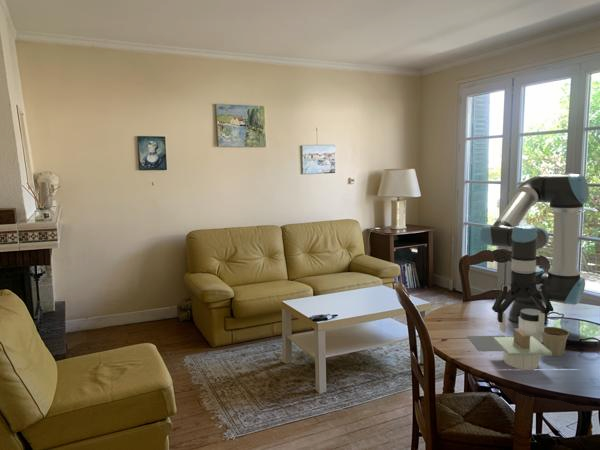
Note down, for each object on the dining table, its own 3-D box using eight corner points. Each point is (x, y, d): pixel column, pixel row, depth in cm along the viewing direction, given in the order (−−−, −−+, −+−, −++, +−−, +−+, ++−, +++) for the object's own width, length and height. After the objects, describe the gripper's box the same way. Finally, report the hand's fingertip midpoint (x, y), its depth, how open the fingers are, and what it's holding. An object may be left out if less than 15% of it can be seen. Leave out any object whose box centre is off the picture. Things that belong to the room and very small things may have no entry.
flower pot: (533, 349, 167) (534, 327, 166) (557, 347, 168) (558, 325, 167) (549, 360, 158) (550, 336, 157) (574, 358, 159) (575, 334, 158)
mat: (504, 336, 180) (504, 335, 180) (519, 352, 165) (519, 350, 165) (466, 337, 181) (466, 336, 181) (478, 352, 167) (478, 351, 166)
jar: (532, 346, 170) (533, 316, 168) (514, 339, 177) (514, 310, 175) (547, 342, 173) (548, 312, 172) (529, 335, 181) (530, 307, 179)
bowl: (530, 356, 161) (530, 340, 161) (544, 370, 150) (545, 353, 150) (499, 356, 162) (499, 341, 161) (511, 370, 151) (511, 353, 150)
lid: (532, 339, 162) (533, 324, 161) (552, 355, 148) (552, 339, 147) (493, 339, 163) (493, 325, 162) (509, 355, 149) (509, 340, 148)
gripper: (555, 267, 155) (552, 326, 158) (482, 269, 157) (482, 327, 159) (566, 272, 147) (563, 334, 150) (490, 274, 149) (489, 335, 152)
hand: (521, 330), depth 155 cm, fingers open, 12 cm apart
